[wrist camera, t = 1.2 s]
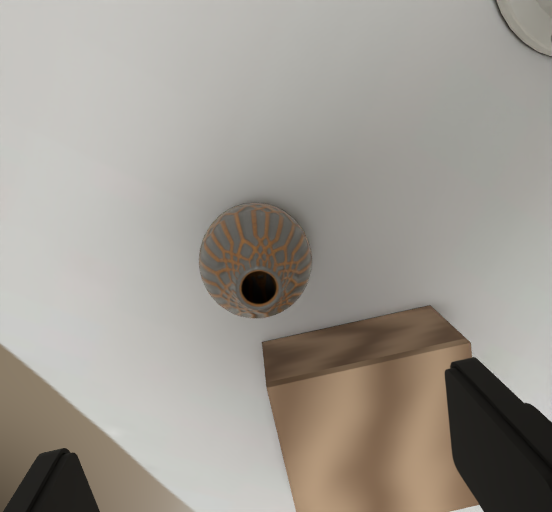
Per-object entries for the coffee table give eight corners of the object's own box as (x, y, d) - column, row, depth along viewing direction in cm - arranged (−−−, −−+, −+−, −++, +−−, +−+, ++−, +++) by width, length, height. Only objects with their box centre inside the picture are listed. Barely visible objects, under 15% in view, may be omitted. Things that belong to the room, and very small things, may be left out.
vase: (322, 238, 30) (353, 279, 22) (259, 309, 32) (267, 373, 23) (247, 174, 29) (250, 192, 20) (183, 251, 30) (161, 298, 22)
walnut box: (430, 305, 33) (470, 342, 27) (444, 444, 36) (483, 503, 31) (262, 342, 32) (266, 387, 27) (294, 478, 36) (304, 544, 30)
